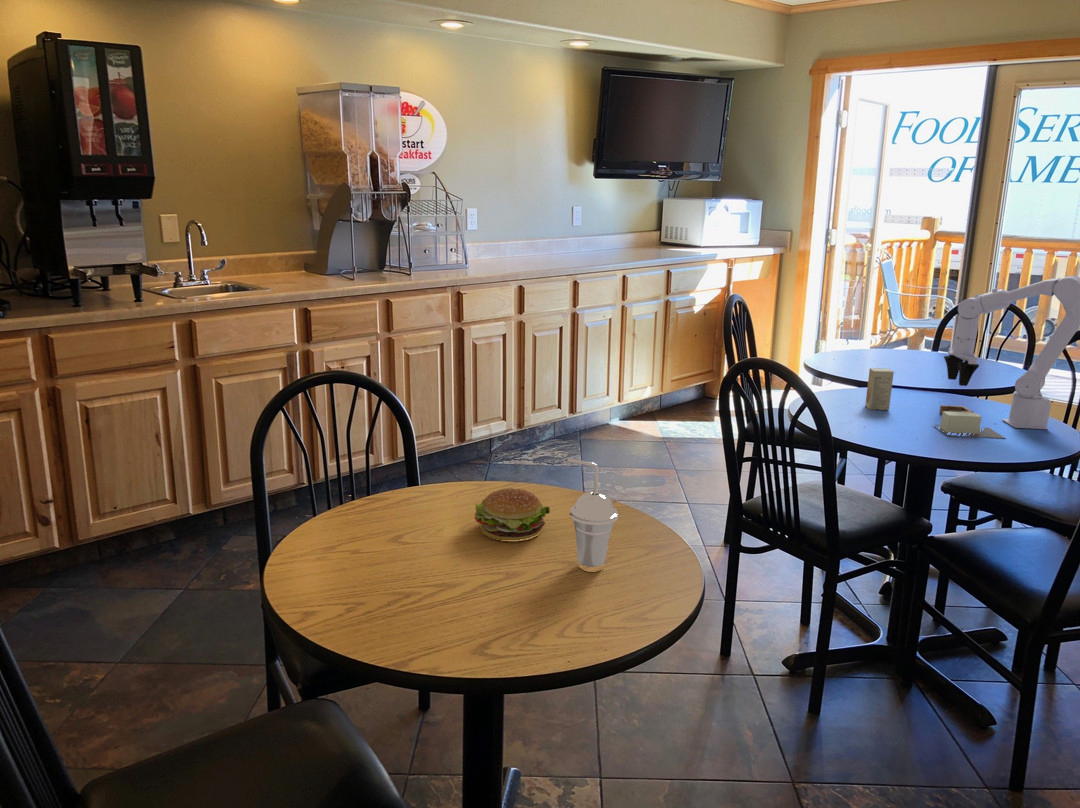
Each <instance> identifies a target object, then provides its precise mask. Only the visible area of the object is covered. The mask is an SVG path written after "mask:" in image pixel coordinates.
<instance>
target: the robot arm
mask: <svg viewBox="0 0 1080 808" xmlns="http://www.w3.org/2000/svg"><path fill="white" fill-rule="evenodd" d="M1040 295H1043V296H1046V297H1053V296H1055V298H1056V299H1057V300H1058V301H1059V302H1060V303H1061V305H1062V307H1063V310H1064V312H1065V315H1064V317H1063V318H1062V320H1061V321H1060V322H1059V324H1058V326H1057V327H1056V328H1055V330H1054V332H1053V333H1052V335H1051V336H1050V338H1049V339H1048V340H1047V342H1046V344H1045V345H1044V347H1043V348H1042V350H1041V351H1040V353H1039V354H1038V356H1037V357H1036V358H1035V360H1034V361H1033V363H1032V364H1031V365H1030V367H1029V368H1028V369H1027V371H1026V372H1024V373H1023V374H1022V375H1021V376H1020V377H1018V378H1017V379H1016V381H1015V383H1014V389H1015V390H1014V392H1013V395H1012V400H1011V405H1010V410H1009V411H1010V412H1009V414H1008V415H1009V417H1008V418H1002V419H1001V420H1002V421H1003V422H1005V423H1006V424H1008V425H1010V426H1011V427H1013V428H1016V429H1031V430H1033V429H1034V430H1035V429H1036V430H1048V429H1049V427H1048V422H1049V418H1050V412H1051V407H1052V405H1051V400H1050V399H1049V397H1046V396H1044V395H1043V394H1042V393H1041V390H1042V389H1043V387H1044V386H1045V383H1046V378H1047V375H1048V374H1049V373H1050V371H1051V369H1052V367H1053V366H1054V365H1055V363H1056V362H1057V360H1058V358H1059V357H1060V356H1061V354H1062V353H1063V351H1064V350H1065V349H1066V347H1067V345H1068V344H1069V343H1070V341H1071V339H1073V336H1074V335H1075V334H1076V333H1077V331H1078V330H1079V328H1080V277H1079V276H1077V275H1067V276H1065V277H1063V278H1062V277H1056V278H1055V277H1054V278H1049V279H1045V280H1041V281H1039V282H1035V283H1031V284H1028V285H1026V286H1023V287H1018V288H1016V289H1012V290H1009V291H1008V290H1006V289H1004V288H997V287H996V288H993V289H991V291H990V292H986V293H983V294H978V293H976V294H974V297H969V298H966V299H963V300H962V301H960V302H959V304H958V306H957V312H958V317H957V318H958V319H957V322H956V326H955V334H954V340H953V344H952V347H948V351H947V354H948V355H944V356H943V359H944V361H945V364H946V369H947V370H946V372H947V379H948V380H953V381H954V380H957V377H959V378H958V384H959V386H960V387H963V386H965V387H967V386H968V385H969V382H970V380H971V378H972V377H973V375H974V373H975V372H976V371H977V370H978V368H979V367H980V365H979V364H978V358H977V356H976V355H975V353H974V351H975V346H976V339H977V336H978V335H977V334H978V329H979V320H980V315H981V314H983V315H986V314H989V313H993V312H996V311H997V312H998V311H1001V310H1003V309H1007V308H1009V307H1010V305H1011V303H1012V302H1016V301H1019V300H1020V301H1021V300H1024V299H1028V298H1031V297H1036V296H1040Z"/></svg>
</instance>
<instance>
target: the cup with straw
mask: <svg viewBox="0 0 1080 808" xmlns="http://www.w3.org/2000/svg"><path fill="white" fill-rule="evenodd" d="M565 462H566V463H570V464H575V465H581V466H586V467H591V468H593V469H594V478H593V479H594V480H593V481H594V482H593V491H592V490H591V491H588V492H585V493H584V494H582V495H580V496H579V497H578V498H577V500H576V501H575V503H574V505H572V506H571V507H570V509H569V513H568V515H569V518H570V519H572V520H573V525H574V530H575V541H576V555H577V556H576V557H577V562H579V563H578V564H581V565H583V566H587V567H597V566H601V565H603V564H604V565H605V564H606V559H607V558H606V557H607V554H608V553H607V552H608V547H609V541H610V536H611V533H612V529H613V527H614V523H615V522H616V521H618V519H619V512H618V510H617V509H616V508H615V507H614V503H613V502H612V500H611V499H610V498H609V496H608V495H606V494H605V493H602V492H599V491H598V489H599V474H600V472H599V471H600V470H599V469H600V468H599V465H598V464H597V463H595V462H591V461H586V460H585V461H584V460H579V459H576V458H575V459H573V458H569V457H567V458H566V459H565ZM604 565H603V566H604Z"/></svg>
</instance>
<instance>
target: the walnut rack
mask: <svg viewBox="0 0 1080 808" xmlns="http://www.w3.org/2000/svg"><path fill="white" fill-rule="evenodd" d="M939 407H940V408H939V412H940V413H943V411H948V412H970V413H975V412H974V411H973V410H971V409H969V408H968V407H967V406H964V405H948V404H947V405H944V404H943V405H942V404H941V405H940V406H939ZM940 413H939V414H940Z"/></svg>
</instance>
